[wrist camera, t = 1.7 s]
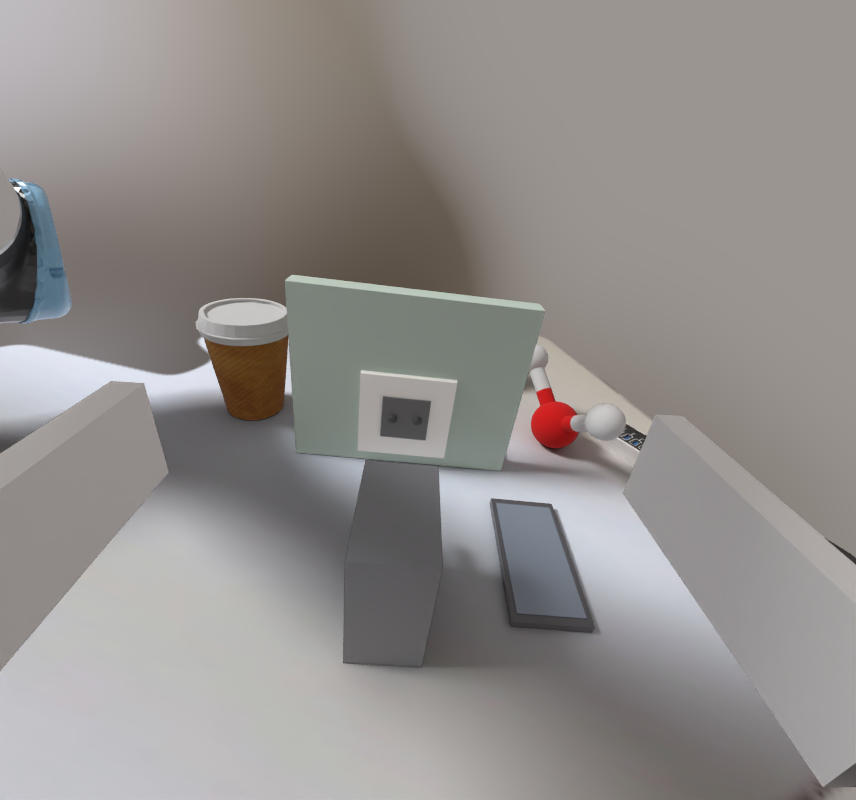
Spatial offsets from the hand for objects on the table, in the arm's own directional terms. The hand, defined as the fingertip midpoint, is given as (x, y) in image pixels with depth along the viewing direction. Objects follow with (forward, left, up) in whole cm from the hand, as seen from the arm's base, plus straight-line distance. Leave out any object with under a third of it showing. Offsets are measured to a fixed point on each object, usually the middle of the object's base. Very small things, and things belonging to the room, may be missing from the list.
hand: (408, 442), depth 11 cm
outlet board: (0, +27, -21) cm, 34 cm away
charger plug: (0, +9, -21) cm, 23 cm away
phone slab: (+12, +14, -22) cm, 28 cm away
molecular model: (+18, +31, -21) cm, 41 cm away
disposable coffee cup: (-18, +33, -21) cm, 43 cm away
